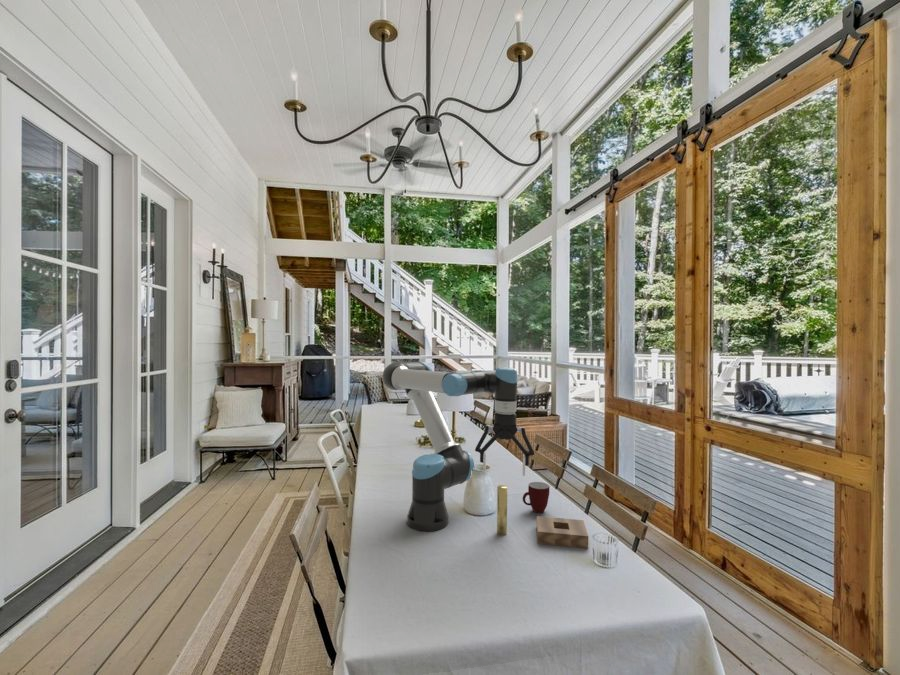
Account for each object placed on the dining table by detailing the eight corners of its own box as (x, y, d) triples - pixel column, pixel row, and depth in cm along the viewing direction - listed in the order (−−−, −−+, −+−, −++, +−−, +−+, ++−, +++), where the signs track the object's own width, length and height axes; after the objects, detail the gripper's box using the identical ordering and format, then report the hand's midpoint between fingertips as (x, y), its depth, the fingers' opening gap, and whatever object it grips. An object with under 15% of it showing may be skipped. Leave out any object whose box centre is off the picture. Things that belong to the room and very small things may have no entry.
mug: (528, 517, 158) (529, 490, 158) (518, 508, 166) (519, 483, 166) (553, 513, 162) (553, 487, 161) (542, 505, 169) (542, 480, 169)
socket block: (537, 543, 138) (537, 531, 138) (536, 527, 150) (536, 516, 150) (588, 548, 135) (588, 536, 135) (583, 531, 147) (583, 520, 147)
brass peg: (496, 534, 144) (497, 488, 144) (497, 530, 147) (497, 484, 147) (506, 535, 143) (507, 489, 143) (506, 531, 147) (507, 485, 146)
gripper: (468, 412, 144) (467, 474, 144) (542, 416, 140) (541, 479, 140) (470, 408, 151) (469, 467, 151) (541, 412, 147) (539, 472, 148)
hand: (503, 473), depth 146 cm, fingers open, 13 cm apart
